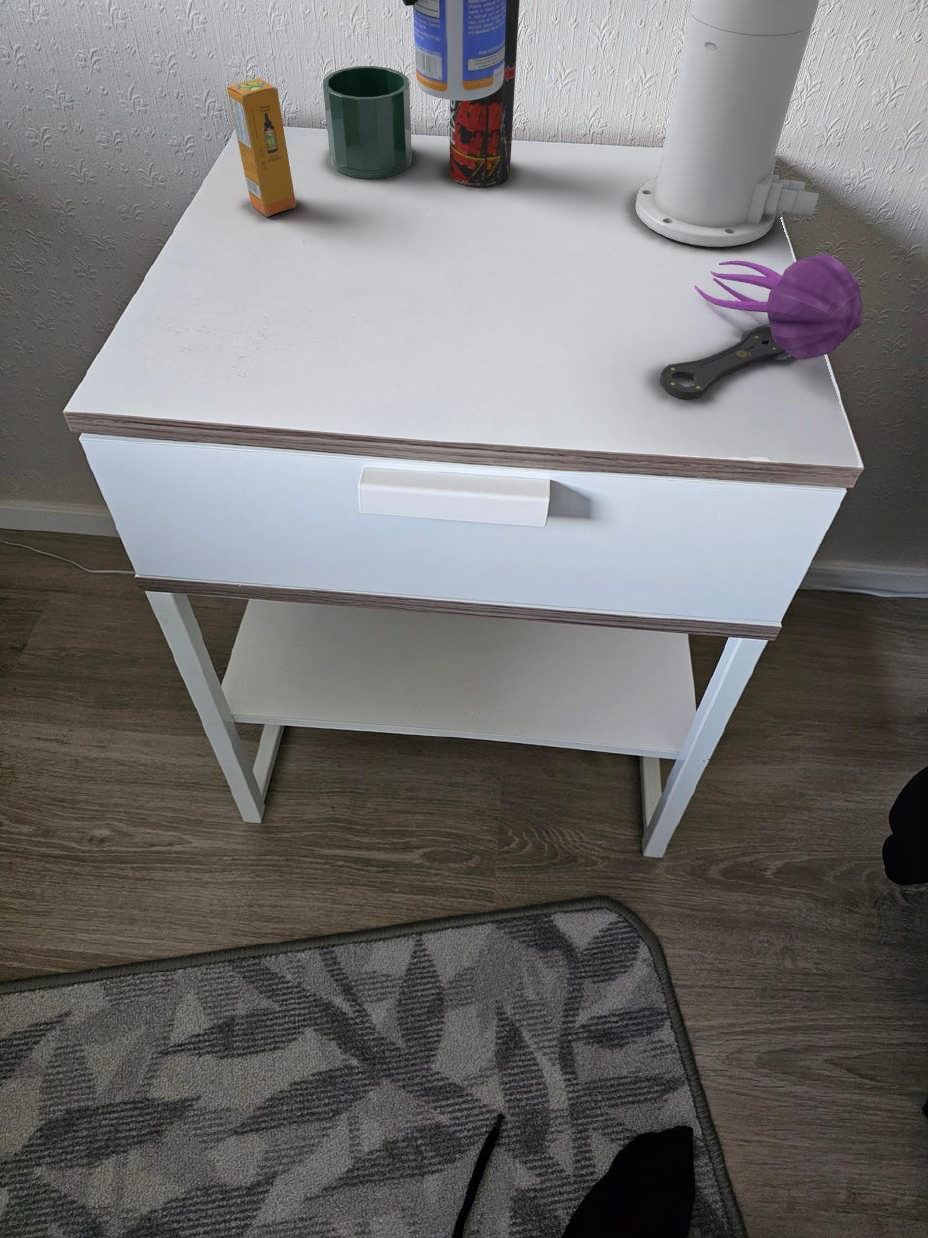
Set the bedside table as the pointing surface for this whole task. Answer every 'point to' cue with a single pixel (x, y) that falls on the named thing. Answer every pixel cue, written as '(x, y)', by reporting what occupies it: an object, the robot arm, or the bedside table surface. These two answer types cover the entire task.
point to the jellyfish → (802, 303)
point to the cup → (368, 121)
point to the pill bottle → (459, 47)
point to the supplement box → (262, 145)
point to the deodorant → (486, 123)
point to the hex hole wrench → (722, 363)
